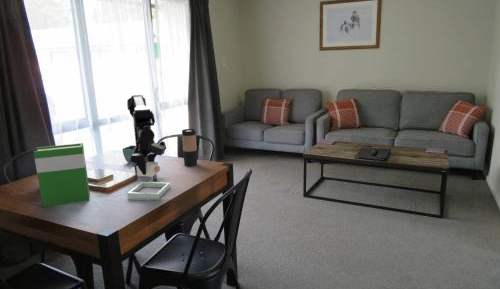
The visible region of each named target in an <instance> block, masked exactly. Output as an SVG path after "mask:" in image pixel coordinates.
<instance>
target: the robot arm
mask: <svg viewBox="0 0 500 289" xmlns="http://www.w3.org/2000/svg"><path fill="white" fill-rule="evenodd" d="M126 102H127V103H126V106H127V110H128V112H129V114H130V116H131V117H132V118H133V129H134V131H133V132H134V141H135V145H134V146H135V147H134V149H133V154H132V156H131V157H130V160H131V162H133V163H132V166H133V167H134V172H135V175H137V168H136V166H138V168H139V169H140V171H141V172H142V174H143V175H146V163H147V162H155V160H156V157H157V156H160V157H161V156H163V154H165V151H166V149H167V145H166V142H165V141H160V142H157V143H156V142H155V132H154V131H153V130H152V126H155V122H156V120H155V115H154V113H153V110H151V109H150V107H148V106H147V101H146V98H145V97H144V96H143V94H132V95H131V97H129V98H128V99H127V101H126Z"/></svg>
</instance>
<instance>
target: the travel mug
mask: <svg viewBox="0 0 500 289" xmlns="http://www.w3.org/2000/svg"><path fill="white" fill-rule="evenodd" d="M196 132H197V131H196V130H195V129H194V128H185V129H182V130H181V135H182V136H181V138H182V153H183V162H184V165H183V166H184V167H195V166H197V165H198V150H197V147H198V146H197V133H196Z"/></svg>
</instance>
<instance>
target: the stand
mask: <svg viewBox="0 0 500 289" xmlns="http://www.w3.org/2000/svg"><path fill="white" fill-rule="evenodd" d="M169 179H170V178H169V177H158V173H156V174H155V175H154V176H153V177H149V178H147V179H146V180H145V181H144V182H163V183H167V181H168V180H169Z"/></svg>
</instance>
